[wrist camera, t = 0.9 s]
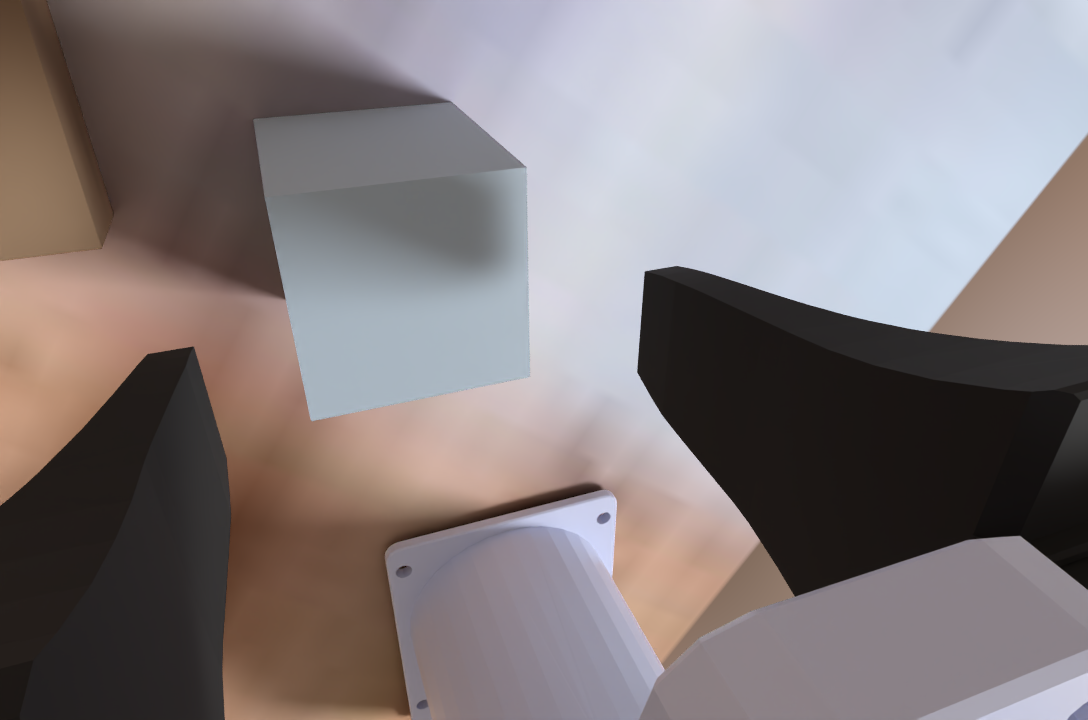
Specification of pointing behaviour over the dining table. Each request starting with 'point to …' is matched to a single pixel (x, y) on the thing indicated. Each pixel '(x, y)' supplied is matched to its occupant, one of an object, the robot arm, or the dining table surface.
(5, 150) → the brown block
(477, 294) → the slate block
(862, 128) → the dining table surface
